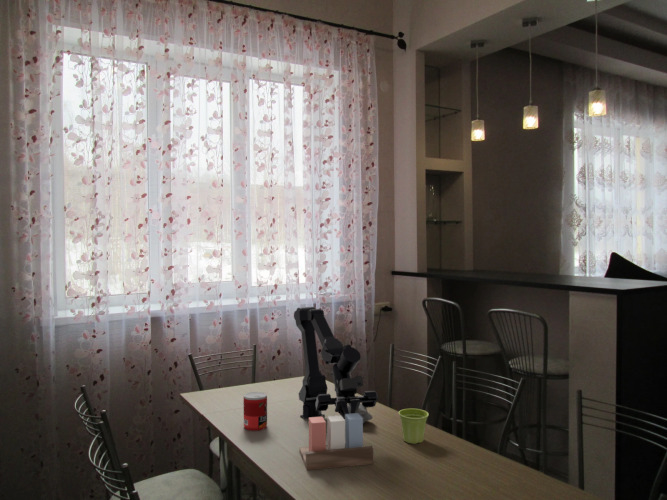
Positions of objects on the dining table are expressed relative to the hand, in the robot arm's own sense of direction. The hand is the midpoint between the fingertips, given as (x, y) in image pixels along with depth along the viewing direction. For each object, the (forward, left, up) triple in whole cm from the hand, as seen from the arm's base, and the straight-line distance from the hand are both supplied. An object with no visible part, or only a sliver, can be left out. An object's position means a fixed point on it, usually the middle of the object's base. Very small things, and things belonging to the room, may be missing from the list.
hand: (351, 426), depth 159 cm
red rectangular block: (+11, -4, -6) cm, 13 cm away
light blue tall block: (+2, +2, -6) cm, 7 cm away
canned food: (+3, -39, -8) cm, 40 cm away
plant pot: (-20, +9, -8) cm, 23 cm away
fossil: (-22, -14, -8) cm, 27 cm away
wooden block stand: (+6, -1, -8) cm, 10 cm away
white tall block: (+7, -1, -6) cm, 9 cm away
